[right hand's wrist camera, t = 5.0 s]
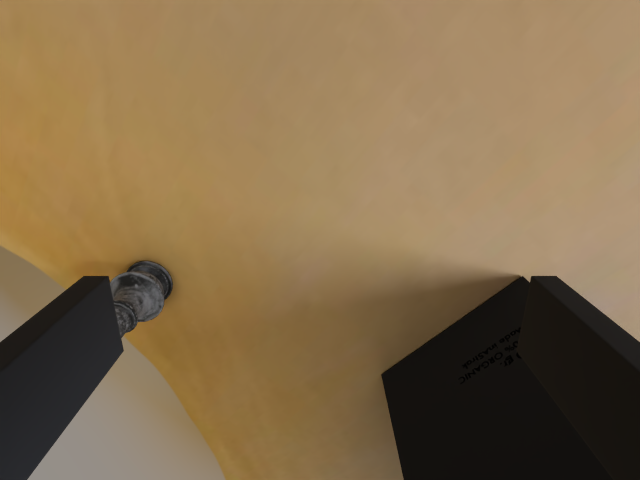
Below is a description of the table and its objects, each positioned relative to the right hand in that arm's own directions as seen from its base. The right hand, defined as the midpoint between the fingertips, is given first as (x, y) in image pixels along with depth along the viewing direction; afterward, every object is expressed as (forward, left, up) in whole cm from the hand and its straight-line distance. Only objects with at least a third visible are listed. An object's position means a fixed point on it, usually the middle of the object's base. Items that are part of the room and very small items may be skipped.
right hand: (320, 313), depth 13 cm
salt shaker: (+14, -19, -30) cm, 38 cm away
